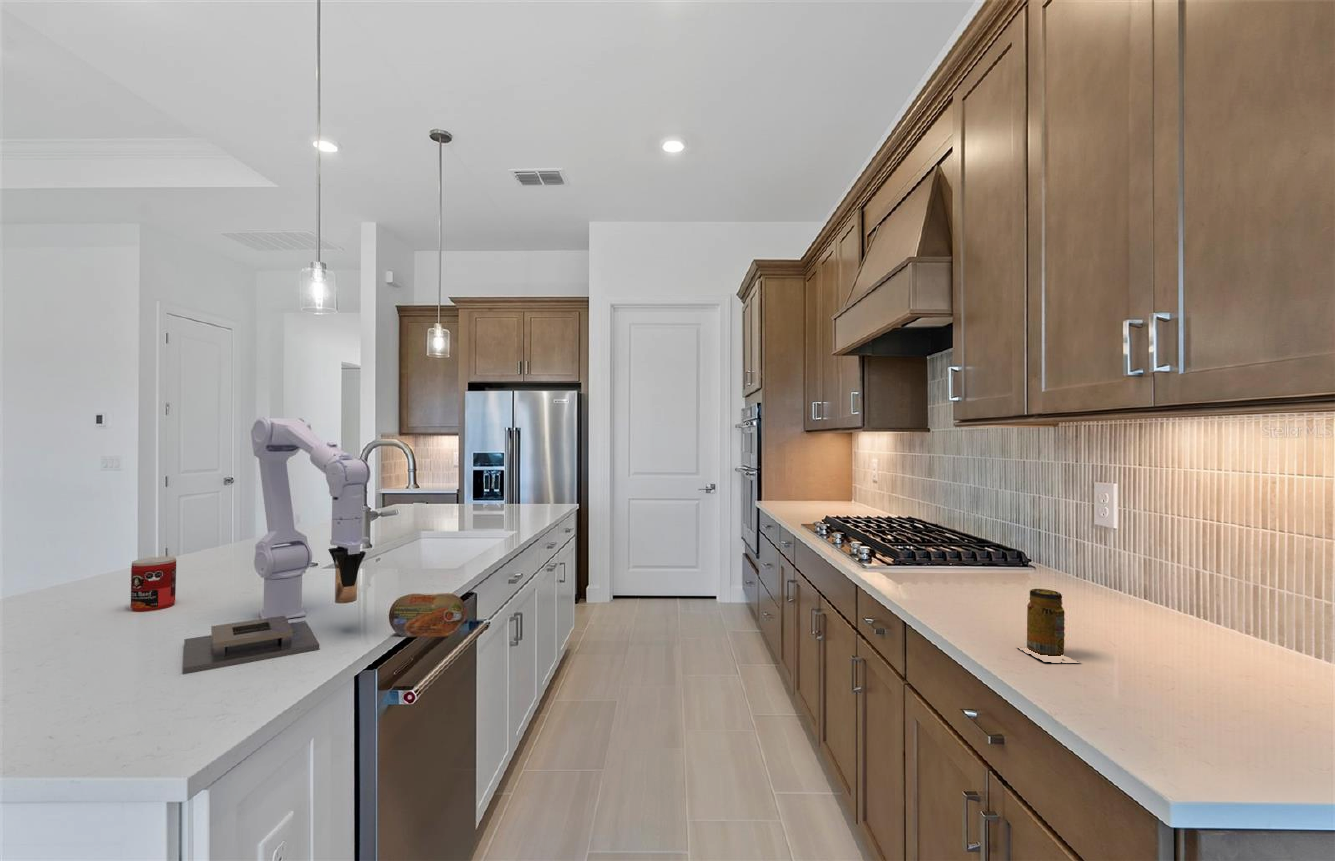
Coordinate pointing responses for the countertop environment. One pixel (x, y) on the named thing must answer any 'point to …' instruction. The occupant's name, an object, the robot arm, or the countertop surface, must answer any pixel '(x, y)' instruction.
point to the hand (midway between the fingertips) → (346, 583)
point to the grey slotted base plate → (247, 643)
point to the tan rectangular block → (344, 589)
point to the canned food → (153, 583)
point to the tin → (427, 615)
